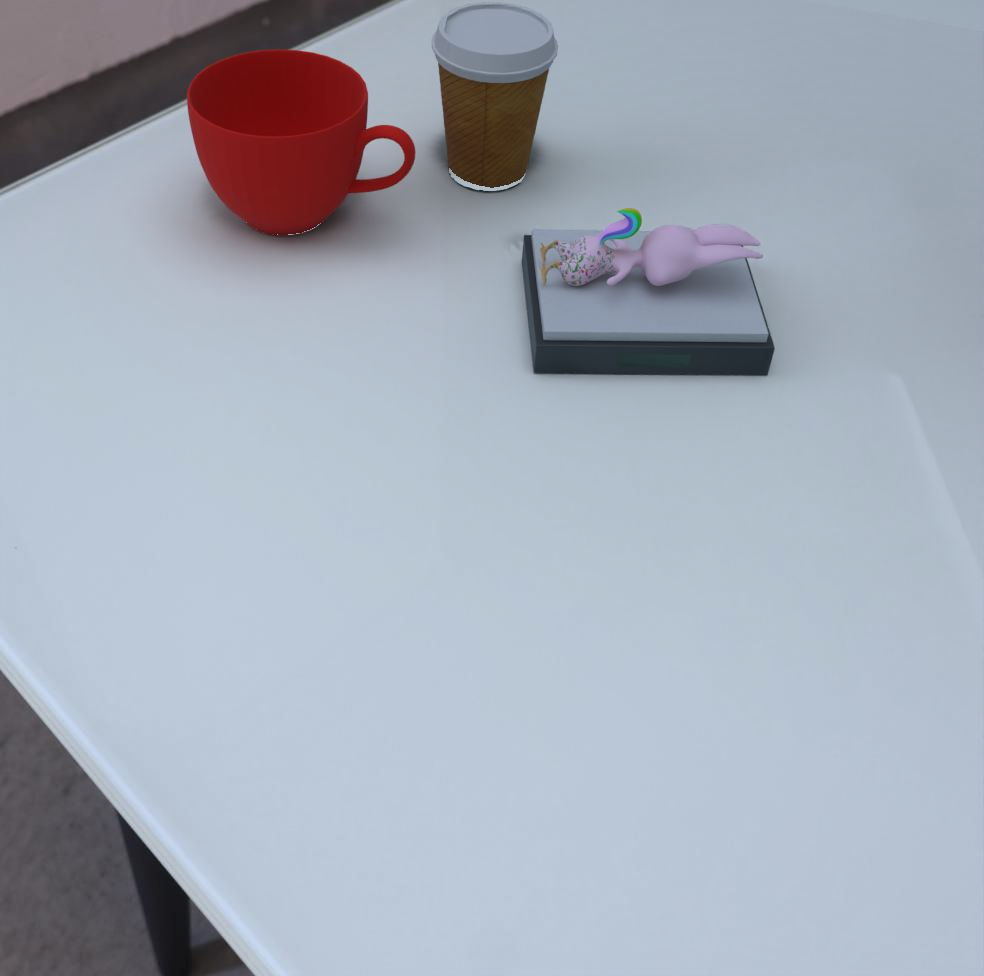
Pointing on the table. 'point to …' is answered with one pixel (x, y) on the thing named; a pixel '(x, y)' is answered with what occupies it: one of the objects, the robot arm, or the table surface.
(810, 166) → the table surface
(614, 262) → the rabbit figure
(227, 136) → the ceramic cup
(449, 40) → the disposable coffee cup
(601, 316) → the scale
